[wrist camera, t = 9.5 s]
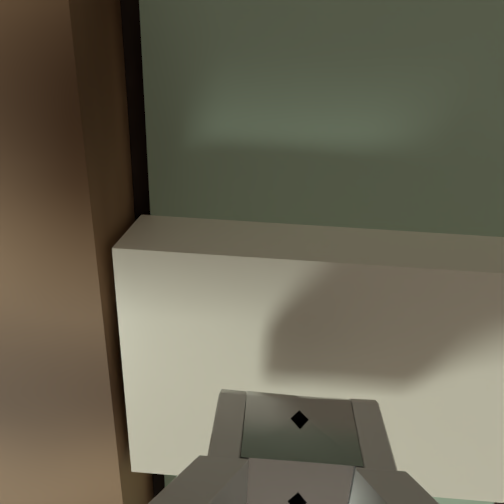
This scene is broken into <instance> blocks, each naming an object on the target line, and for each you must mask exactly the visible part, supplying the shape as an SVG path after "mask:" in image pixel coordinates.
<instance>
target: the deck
mask: <svg viewBox="0 0 504 504" xmlns="http://www.w3.org/2000/svg"><path fill="white" fill-rule="evenodd" d="M134 222H135V210H134V195H133V181H132V166H131V151H130V136H129V122H128V107H127V92H126V77H125V62H124V48H123V33H122V18H121V3H120V0H0V504H148V503H149V502H150V501H151V500H152V499H153V498H154V491H153V476H152V473H141V472H131V461H130V449H129V438H128V427H127V415H126V404H125V393H124V381H123V370H122V359H121V347H120V336H119V325H118V314H117V302H116V291H115V280H114V268H113V257H112V247H113V246H114V245H115V244H116V243H117V242H118V240H119V239H120V238H121V237H122V236H123V235H124V234H125V233H126V231H127V230H128V229H129V228H130V227H131V226H132V225H133V223H134Z"/></svg>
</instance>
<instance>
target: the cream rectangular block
mask: <svg viewBox="0 0 504 504" xmlns="http://www.w3.org/2000/svg"><path fill="white" fill-rule="evenodd" d="M112 257H113V268H114V280H115V291H116V302H117V314H118V325H119V336H120V347H121V359H122V370H123V381H124V393H125V404H126V415H127V427H128V438H129V449H130V461H131V472H141V473H153V474H165V475H177V476H178V475H179V474H180V473H181V472H182V471H183V470H184V469H185V468H186V467H187V466H188V465H189V464H190V463H192V462H193V461H194V460H195V459H196V458H197V457H198V456H199V455H203V456H207V455H208V449H209V444H210V439H211V434H212V428H213V423H214V418H215V412H216V407H217V402H218V396H219V393H220V391H221V389H228V390H239V391H246V392H247V391H254V392H265V393H275V394H285V395H296V396H310V397H325V398H340V399H367V400H376V401H377V402H378V403H379V406H380V410H381V413H382V417H383V421H384V424H385V428H386V431H387V435H388V438H389V442H390V445H391V449H392V452H393V456H394V459H395V463H396V466H397V470H398V471H406V472H407V473H408V474H409V475H410V476H411V477H412V478H413V479H414V480H415V481H417V482H418V483H419V484H420V485H421V486H422V487H423V488H424V489H425V490H426V491H427V492H428V493H429V494H430V495H431V496H432V497H440V498H452V499H463V500H475V501H487V502H499V503H504V237H495V236H479V235H463V234H446V233H430V232H414V231H398V230H382V229H365V228H349V227H333V226H317V225H301V224H284V223H268V222H252V221H236V220H220V219H204V218H187V217H171V216H155V215H140V217H139V218H138V219H137V220H136V221H135V222H134V223H133V225H132V226H131V227H130V228H129V229H128V230H127V231H126V233H125V234H124V235H123V236H122V237H121V238H120V239H119V240H118V242H117V243H116V244H115V245H114V246H113V247H112Z"/></svg>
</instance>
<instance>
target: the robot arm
mask: <svg viewBox="0 0 504 504" xmlns="http://www.w3.org/2000/svg"><path fill="white" fill-rule="evenodd" d="M148 504H439V503H438V502H437V501H436V500H435V499H434V498H433V497H432V496H431V495H430V494H429V493H428V492H427V491H426V490H425V489H424V488H423V487H422V486H421V485H420V484H419V483H418V482H417V481H415V480H414V479H413V478H412V477H411V476H410V475H409V474H408V473H407V472H406V471H398V470H397V466H396V463H395V459H394V456H393V452H392V449H391V445H390V442H389V438H388V435H387V431H386V428H385V424H384V421H383V417H382V413H381V410H380V406H379V403H378V402H377V401H376V400H367V399H340V398H325V397H310V396H296V395H285V394H275V393H265V392H254V391H247V392H246V391H239V390H228V389H221V391H220V393H219V396H218V402H217V407H216V412H215V418H214V423H213V428H212V434H211V439H210V444H209V449H208V455H207V456H203V455H199V456H198V457H197V458H196V459H195V460H194V461H193V462H192V463H190V464H189V465H188V466H187V467H186V468H185V469H184V470H183V471H182V472H181V473H180V474H179V475H178V476H177V477H176V478H175V479H174V480H172V481H171V482H170V483H169V484H168V485H167V486H166V487H165V488H164V489H163V490H162V491H161V492H160V493H159V494H158V495H157V496H156V497H154V498H153V499H152V500H151V501H150V502H149V503H148Z"/></svg>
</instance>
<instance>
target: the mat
mask: <svg viewBox="0 0 504 504" xmlns="http://www.w3.org/2000/svg"><path fill="white" fill-rule="evenodd" d="M139 9H140V28H141V47H142V66H143V85H144V104H145V122H146V141H147V160H148V179H149V198H150V215H155V216H171V217H187V218H204V219H220V220H236V221H252V222H268V223H284V224H301V225H317V226H333V227H349V228H365V229H382V230H398V231H414V232H430V233H446V234H463V235H479V236H495V237H504V0H139ZM176 477H177V475H165V474H164V481H165V487H166V486H167V485H168V484H169V483H170V482H171V481H172V480H174V479H175V478H176ZM433 498H434V499H435V500H436V501H437V502H438V503H439V504H494V502H487V501H475V500H463V499H452V498H440V497H433Z"/></svg>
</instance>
